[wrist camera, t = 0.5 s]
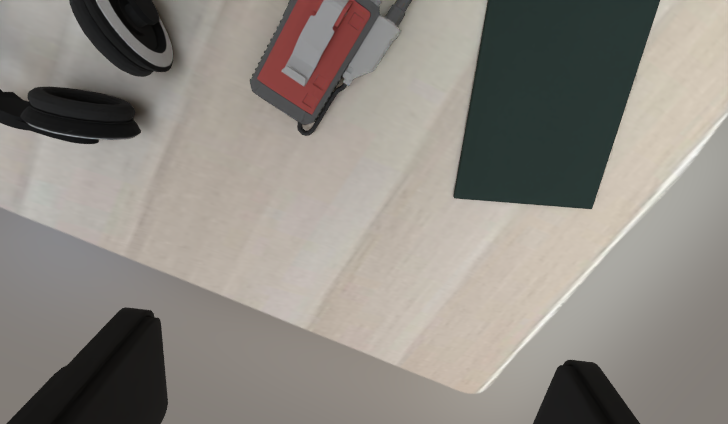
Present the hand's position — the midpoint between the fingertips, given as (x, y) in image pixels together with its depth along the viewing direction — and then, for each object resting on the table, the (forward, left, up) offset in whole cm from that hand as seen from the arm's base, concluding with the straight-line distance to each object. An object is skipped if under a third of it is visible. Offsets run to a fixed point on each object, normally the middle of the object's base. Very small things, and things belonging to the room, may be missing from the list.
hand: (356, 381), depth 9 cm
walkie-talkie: (-9, -3, -31) cm, 32 cm away
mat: (-4, +16, -30) cm, 35 cm away
